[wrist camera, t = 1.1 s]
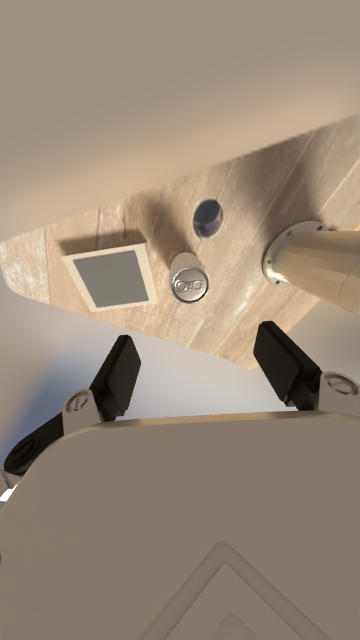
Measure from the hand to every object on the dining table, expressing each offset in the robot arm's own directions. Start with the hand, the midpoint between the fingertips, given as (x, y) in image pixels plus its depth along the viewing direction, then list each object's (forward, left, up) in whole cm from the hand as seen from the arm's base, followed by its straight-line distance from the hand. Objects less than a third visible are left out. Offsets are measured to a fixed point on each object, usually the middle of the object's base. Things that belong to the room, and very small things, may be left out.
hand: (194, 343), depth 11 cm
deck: (+14, 0, -24) cm, 28 cm away
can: (-1, 0, -24) cm, 24 cm away
